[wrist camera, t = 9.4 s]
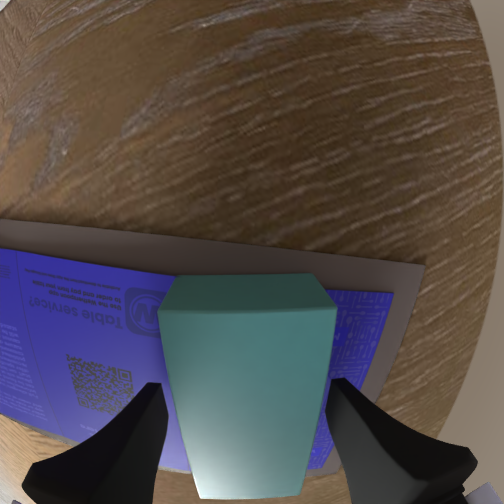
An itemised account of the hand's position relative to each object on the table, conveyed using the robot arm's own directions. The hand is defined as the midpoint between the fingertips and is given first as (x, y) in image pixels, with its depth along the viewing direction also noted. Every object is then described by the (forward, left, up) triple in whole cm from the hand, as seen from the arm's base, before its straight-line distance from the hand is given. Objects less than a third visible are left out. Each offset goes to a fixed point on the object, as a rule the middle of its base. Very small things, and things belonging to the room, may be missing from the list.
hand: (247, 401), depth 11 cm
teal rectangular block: (0, 0, -1) cm, 1 cm away
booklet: (+7, +1, -1) cm, 7 cm away
